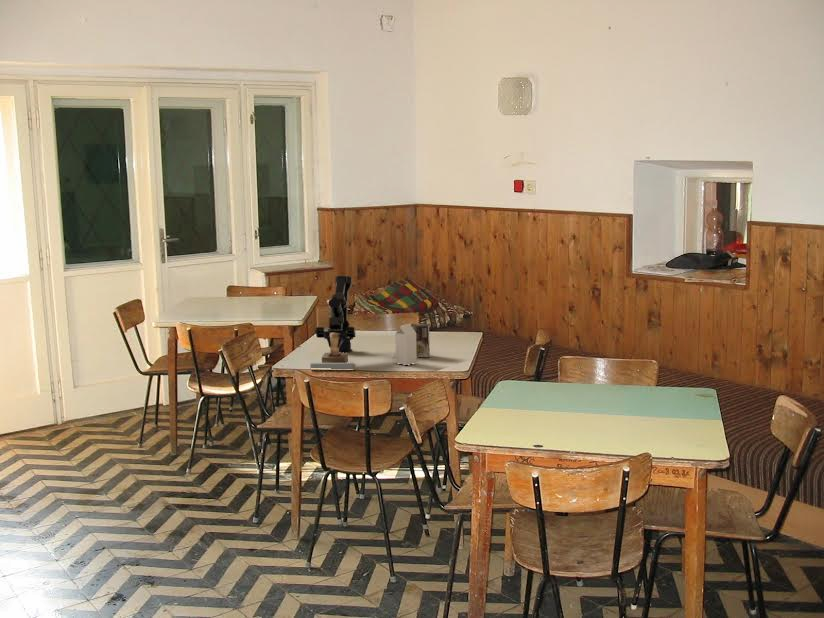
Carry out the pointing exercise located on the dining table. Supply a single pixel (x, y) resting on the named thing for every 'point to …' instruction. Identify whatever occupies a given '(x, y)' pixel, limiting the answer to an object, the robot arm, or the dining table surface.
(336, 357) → the socket block
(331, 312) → the robot arm
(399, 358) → the milk carton
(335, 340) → the dowel
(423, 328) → the coffee box
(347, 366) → the stop rail
